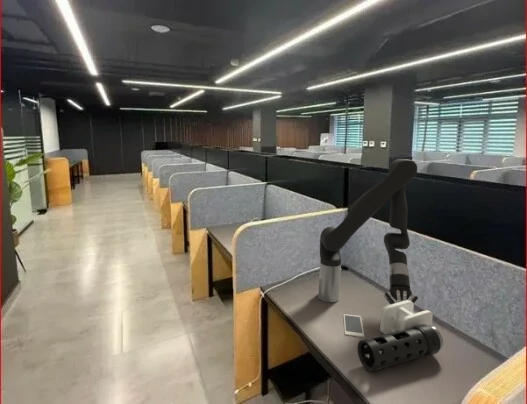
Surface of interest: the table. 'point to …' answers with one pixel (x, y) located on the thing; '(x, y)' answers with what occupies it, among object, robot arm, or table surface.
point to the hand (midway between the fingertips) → (402, 319)
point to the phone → (353, 325)
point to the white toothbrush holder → (402, 317)
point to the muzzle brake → (399, 346)
